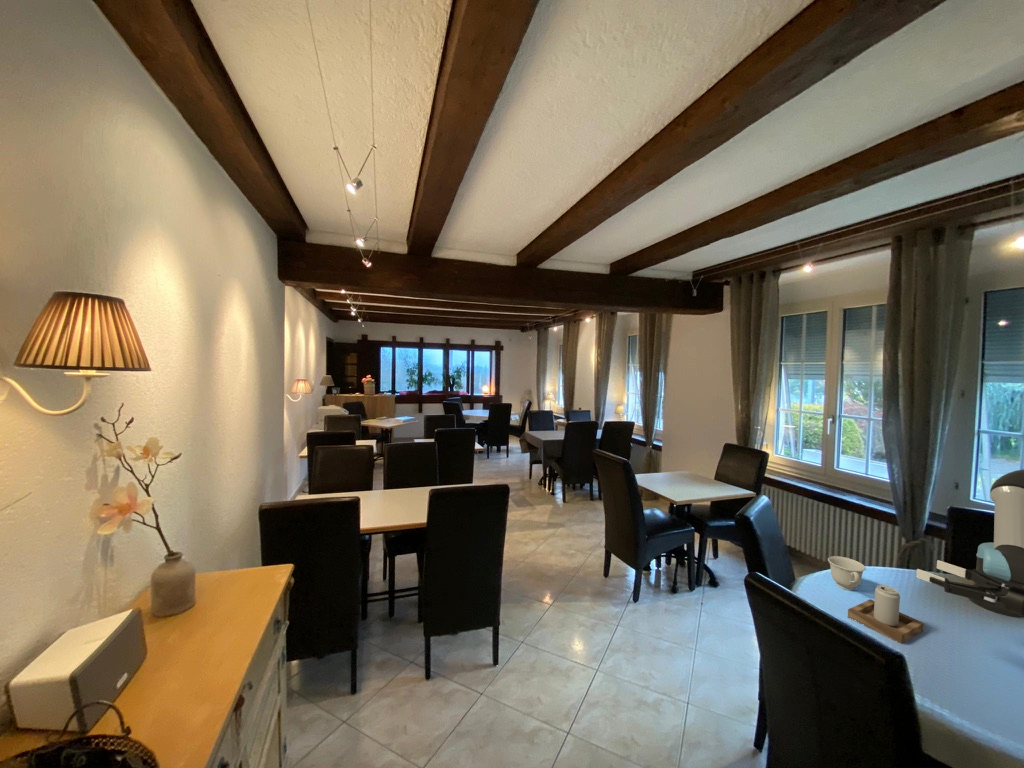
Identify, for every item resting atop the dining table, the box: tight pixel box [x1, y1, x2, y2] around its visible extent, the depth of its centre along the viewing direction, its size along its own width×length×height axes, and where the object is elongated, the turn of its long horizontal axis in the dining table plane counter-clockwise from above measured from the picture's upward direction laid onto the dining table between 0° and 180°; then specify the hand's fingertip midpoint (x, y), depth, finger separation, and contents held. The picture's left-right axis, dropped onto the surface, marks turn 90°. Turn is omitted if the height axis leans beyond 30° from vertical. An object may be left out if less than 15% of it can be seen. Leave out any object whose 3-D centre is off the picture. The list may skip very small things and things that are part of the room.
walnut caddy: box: [847, 599, 925, 645], centre depth 140 cm, size 15×15×3 cm
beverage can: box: [874, 584, 901, 626], centre depth 140 cm, size 6×6×12 cm
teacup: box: [827, 555, 867, 591], centre depth 162 cm, size 12×15×10 cm
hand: (927, 568), depth 130 cm, fingers open, 13 cm apart
